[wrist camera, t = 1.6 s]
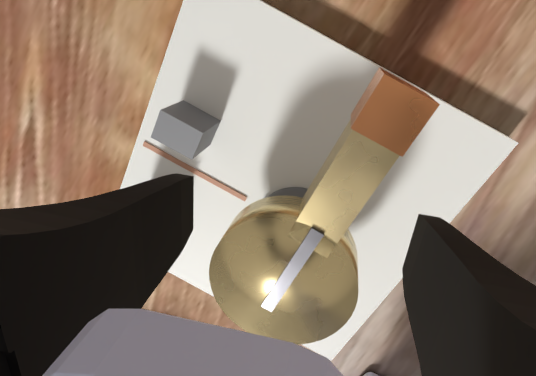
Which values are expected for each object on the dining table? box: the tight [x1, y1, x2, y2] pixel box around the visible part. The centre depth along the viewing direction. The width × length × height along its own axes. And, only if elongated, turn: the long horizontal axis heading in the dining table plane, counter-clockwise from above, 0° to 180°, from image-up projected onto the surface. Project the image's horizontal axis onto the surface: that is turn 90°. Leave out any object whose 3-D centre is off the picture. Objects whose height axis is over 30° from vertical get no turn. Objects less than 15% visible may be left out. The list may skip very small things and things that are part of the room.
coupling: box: [209, 67, 440, 344], centre depth 17 cm, size 14×7×3 cm, turn 154°
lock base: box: [120, 0, 518, 360], centre depth 21 cm, size 18×18×4 cm
